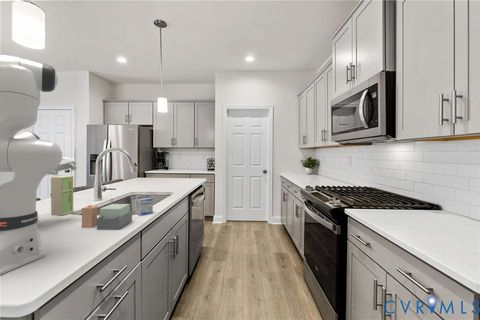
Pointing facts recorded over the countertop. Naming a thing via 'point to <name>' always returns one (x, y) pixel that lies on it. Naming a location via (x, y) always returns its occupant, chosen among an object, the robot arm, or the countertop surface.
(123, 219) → the green-topped grey pedestal
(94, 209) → the orange knobbed block
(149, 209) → the medicine box
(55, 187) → the toy refrigerator
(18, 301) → the countertop surface
